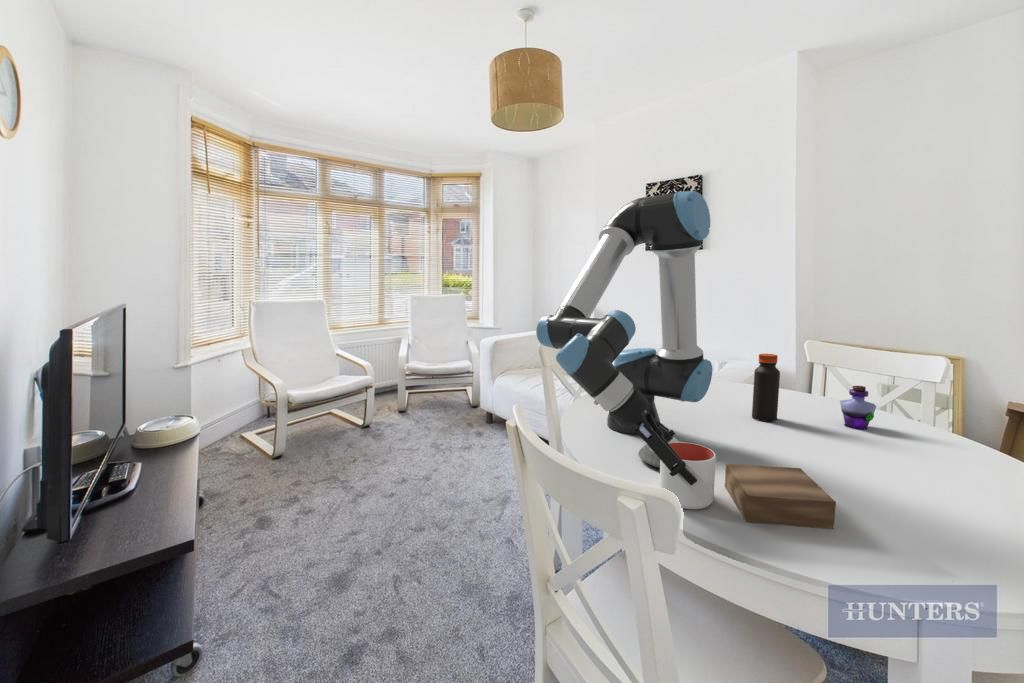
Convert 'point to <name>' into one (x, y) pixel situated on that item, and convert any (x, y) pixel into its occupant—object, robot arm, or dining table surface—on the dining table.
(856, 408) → the potion bottle
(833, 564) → the dining table surface
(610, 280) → the robot arm
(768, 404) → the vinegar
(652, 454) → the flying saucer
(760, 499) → the walnut block
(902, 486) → the dining table surface
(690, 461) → the cup
